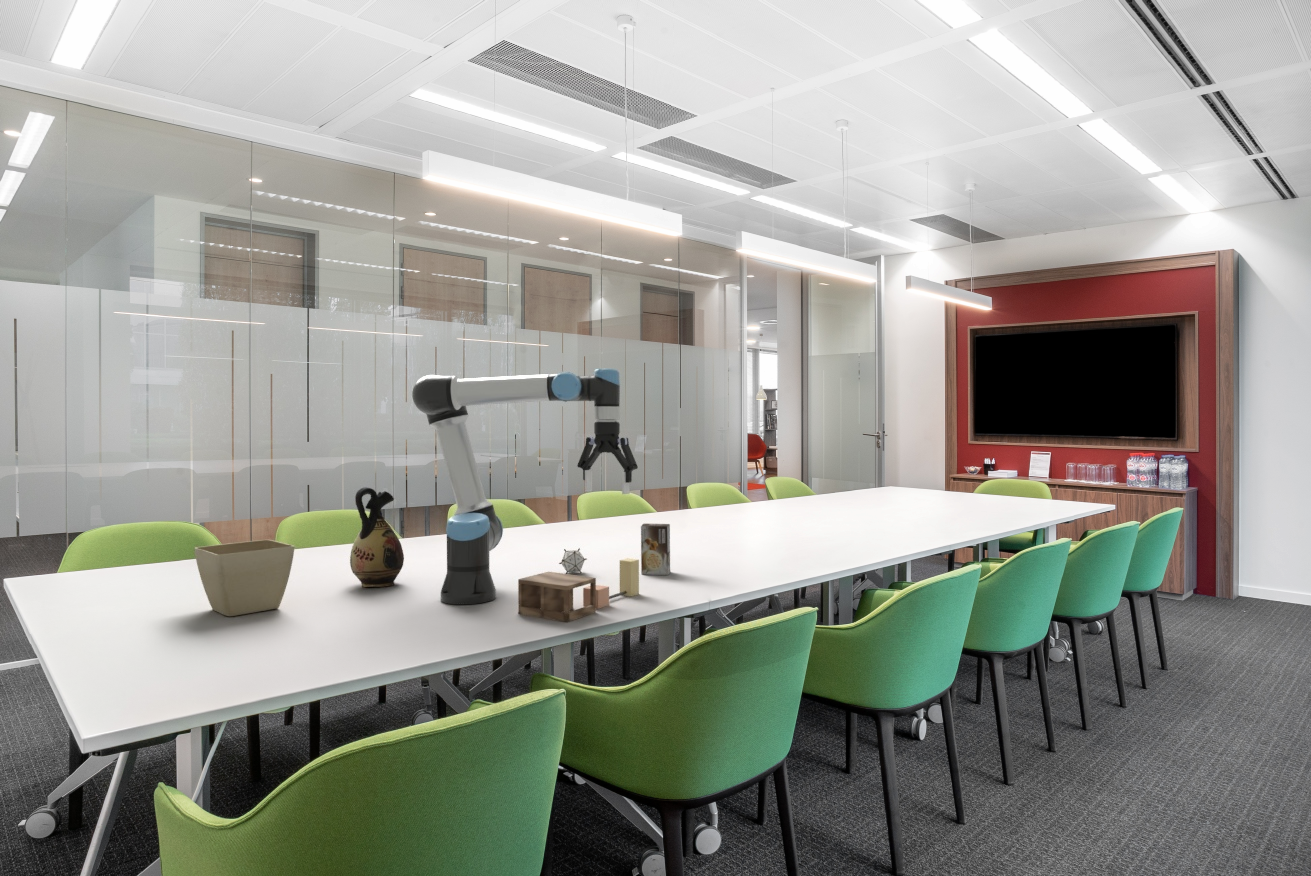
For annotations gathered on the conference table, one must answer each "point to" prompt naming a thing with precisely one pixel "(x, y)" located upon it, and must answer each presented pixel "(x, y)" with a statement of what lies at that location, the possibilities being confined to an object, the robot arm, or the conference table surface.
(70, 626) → the conference table surface
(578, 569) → the game die
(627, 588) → the block
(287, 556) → the flower pot
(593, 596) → the shelf
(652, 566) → the coffee box
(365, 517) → the ceramic jug
